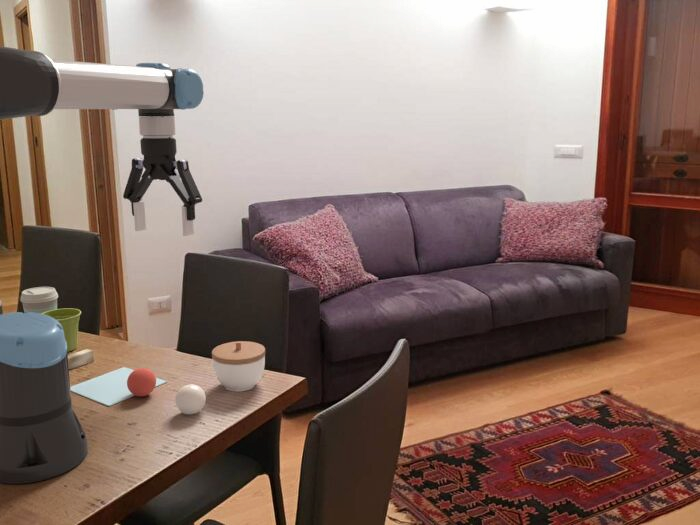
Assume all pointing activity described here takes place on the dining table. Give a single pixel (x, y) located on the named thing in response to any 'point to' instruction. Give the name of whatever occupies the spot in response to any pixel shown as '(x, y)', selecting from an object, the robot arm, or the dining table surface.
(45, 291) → the coffee cup
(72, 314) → the plant pot
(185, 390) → the cue ball
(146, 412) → the dining table surface
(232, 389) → the lidded jar
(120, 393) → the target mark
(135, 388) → the red ball
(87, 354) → the stopper strip
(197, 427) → the dining table surface
